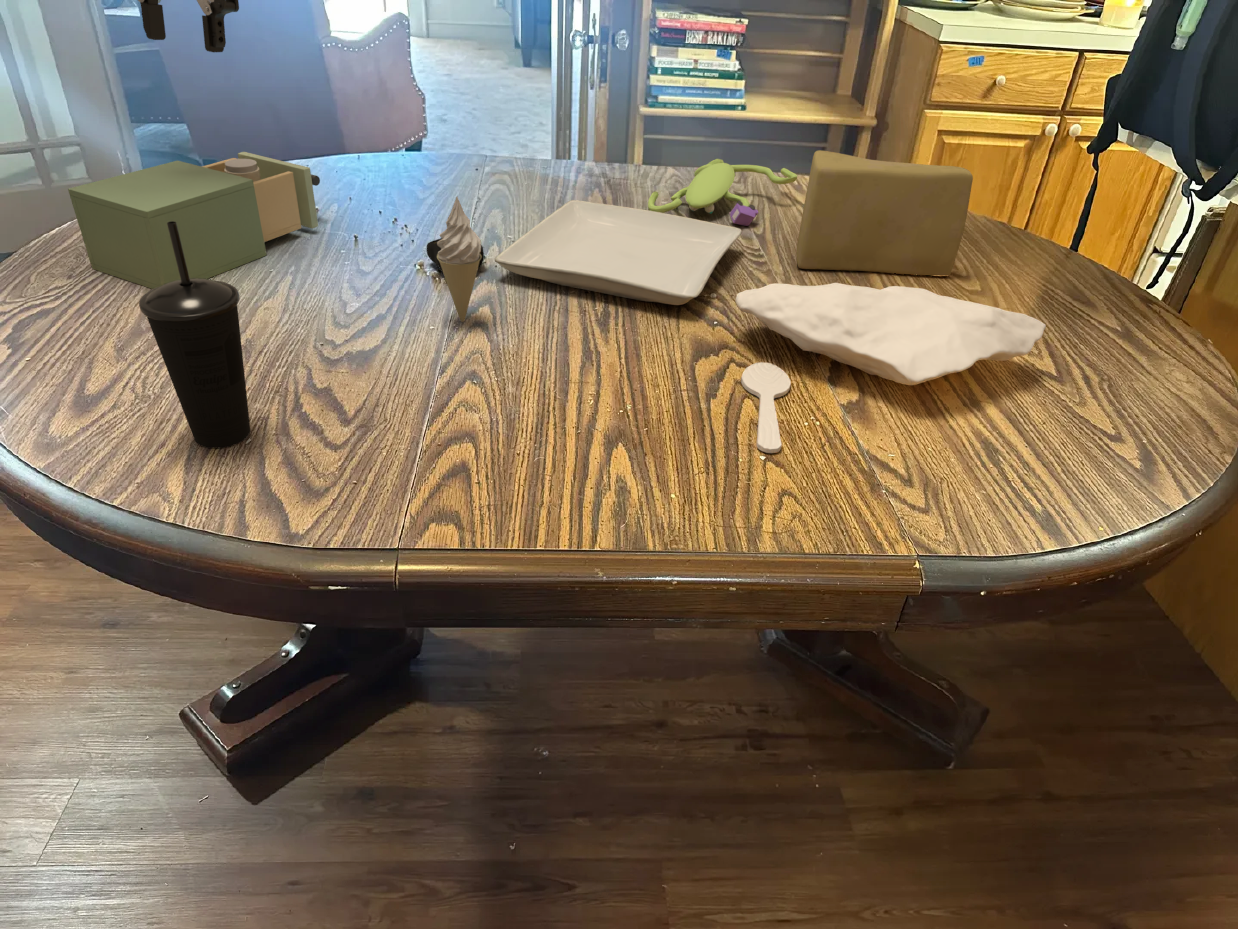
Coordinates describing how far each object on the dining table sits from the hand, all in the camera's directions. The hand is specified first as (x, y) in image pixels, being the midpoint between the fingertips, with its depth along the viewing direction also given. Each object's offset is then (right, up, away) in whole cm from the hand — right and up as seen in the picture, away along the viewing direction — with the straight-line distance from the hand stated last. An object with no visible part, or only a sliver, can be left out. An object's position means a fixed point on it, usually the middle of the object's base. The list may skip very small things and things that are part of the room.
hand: (185, 45), depth 100 cm
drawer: (0, -16, +21) cm, 26 cm away
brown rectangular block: (+88, -20, +25) cm, 93 cm away
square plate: (+51, -21, +19) cm, 59 cm away
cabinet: (-6, -23, +11) cm, 26 cm away
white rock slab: (+81, -37, 0) cm, 89 cm away
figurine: (+68, -5, +45) cm, 82 cm away
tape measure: (+29, -23, +14) cm, 40 cm away
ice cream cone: (+32, -32, +2) cm, 45 cm away
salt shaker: (-1, -15, +19) cm, 24 cm away
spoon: (+66, -43, -10) cm, 80 cm away
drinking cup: (+14, -46, -20) cm, 53 cm away
